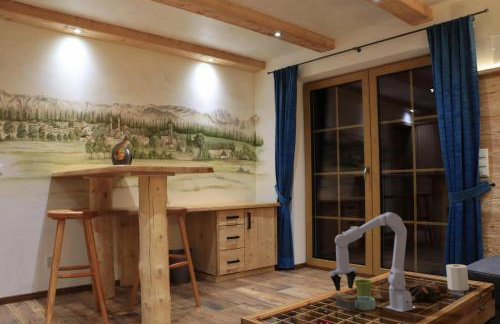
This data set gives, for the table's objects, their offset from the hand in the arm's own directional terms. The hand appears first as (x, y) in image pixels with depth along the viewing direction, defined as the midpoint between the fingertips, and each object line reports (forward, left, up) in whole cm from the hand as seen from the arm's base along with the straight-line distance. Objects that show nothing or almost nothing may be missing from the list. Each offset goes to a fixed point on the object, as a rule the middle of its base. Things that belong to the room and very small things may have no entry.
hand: (344, 289), depth 194 cm
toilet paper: (-8, -72, -9) cm, 73 cm away
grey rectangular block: (0, 0, -9) cm, 9 cm away
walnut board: (0, 0, -4) cm, 4 cm away
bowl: (-4, -9, -9) cm, 13 cm away
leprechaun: (-10, -42, -9) cm, 44 cm away
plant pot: (+8, -20, -9) cm, 23 cm away
